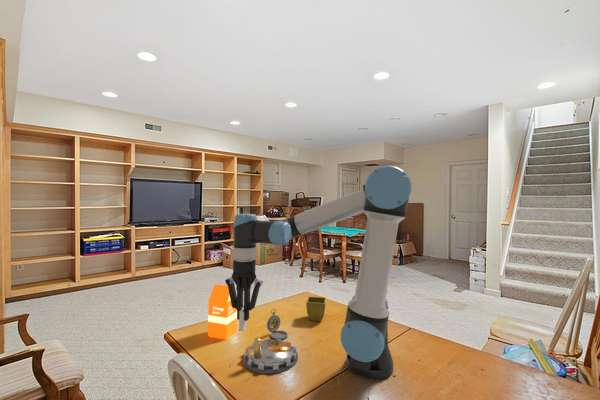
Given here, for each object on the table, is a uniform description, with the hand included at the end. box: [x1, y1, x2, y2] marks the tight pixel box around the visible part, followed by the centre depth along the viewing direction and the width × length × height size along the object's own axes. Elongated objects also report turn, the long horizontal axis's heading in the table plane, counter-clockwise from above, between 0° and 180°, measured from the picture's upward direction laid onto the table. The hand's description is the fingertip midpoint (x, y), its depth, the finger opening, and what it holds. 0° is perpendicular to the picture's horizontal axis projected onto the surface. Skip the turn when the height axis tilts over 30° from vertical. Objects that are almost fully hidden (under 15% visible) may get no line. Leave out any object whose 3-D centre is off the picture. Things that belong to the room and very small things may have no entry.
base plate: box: [242, 351, 299, 375], centre depth 99 cm, size 19×19×1 cm
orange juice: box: [207, 284, 238, 341], centre depth 118 cm, size 8×9×20 cm
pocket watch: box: [266, 308, 288, 340], centre depth 117 cm, size 8×8×10 cm
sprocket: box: [243, 337, 297, 370], centre depth 100 cm, size 18×18×8 cm
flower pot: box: [305, 296, 327, 322], centre depth 134 cm, size 9×9×9 cm
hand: (242, 329), depth 97 cm, fingers closed
